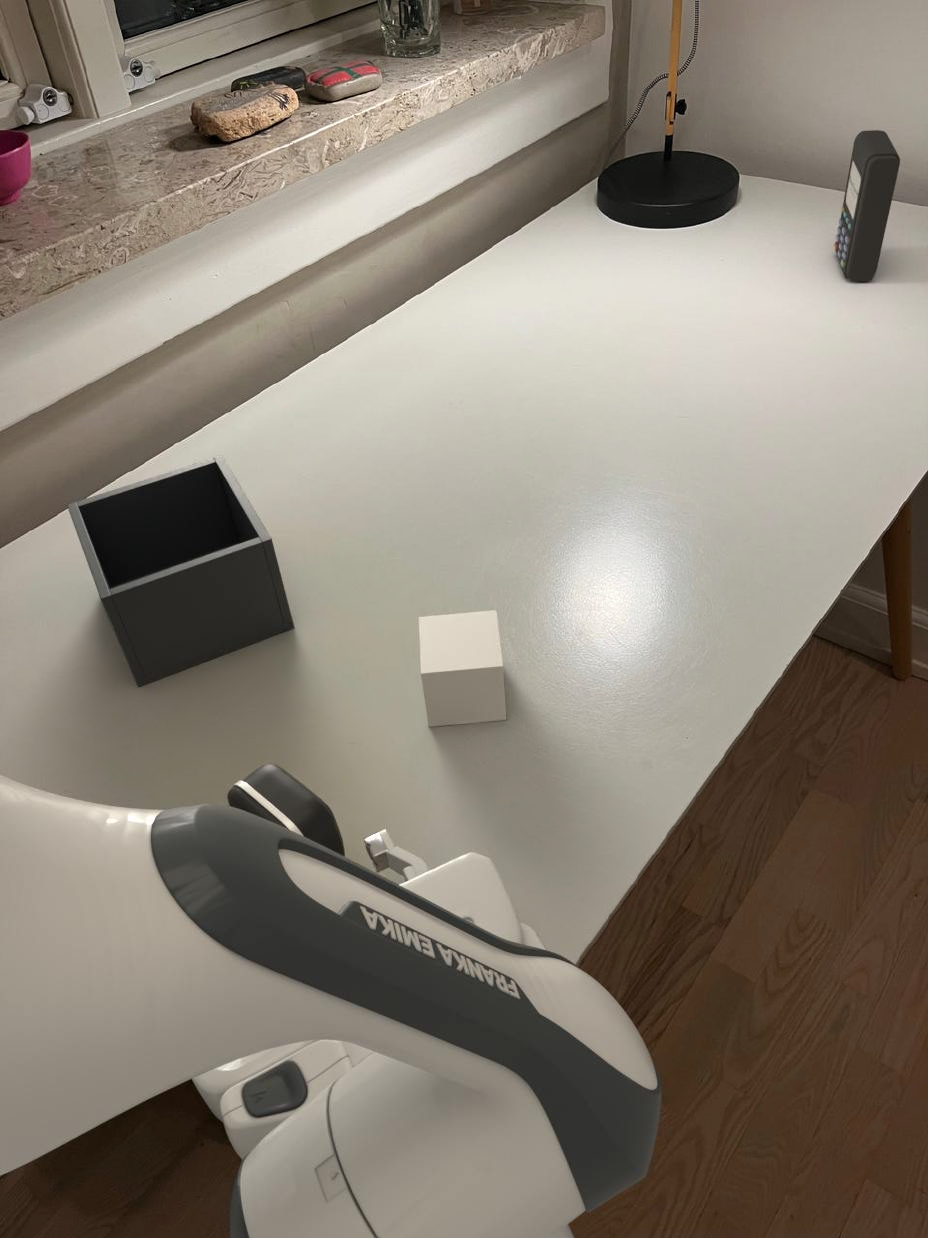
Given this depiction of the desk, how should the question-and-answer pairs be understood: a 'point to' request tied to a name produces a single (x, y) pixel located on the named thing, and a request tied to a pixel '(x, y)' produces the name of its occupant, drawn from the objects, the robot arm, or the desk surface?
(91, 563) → the trash bin
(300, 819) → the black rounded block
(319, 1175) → the robot arm
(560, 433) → the desk surface
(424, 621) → the white cube
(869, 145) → the card reader
